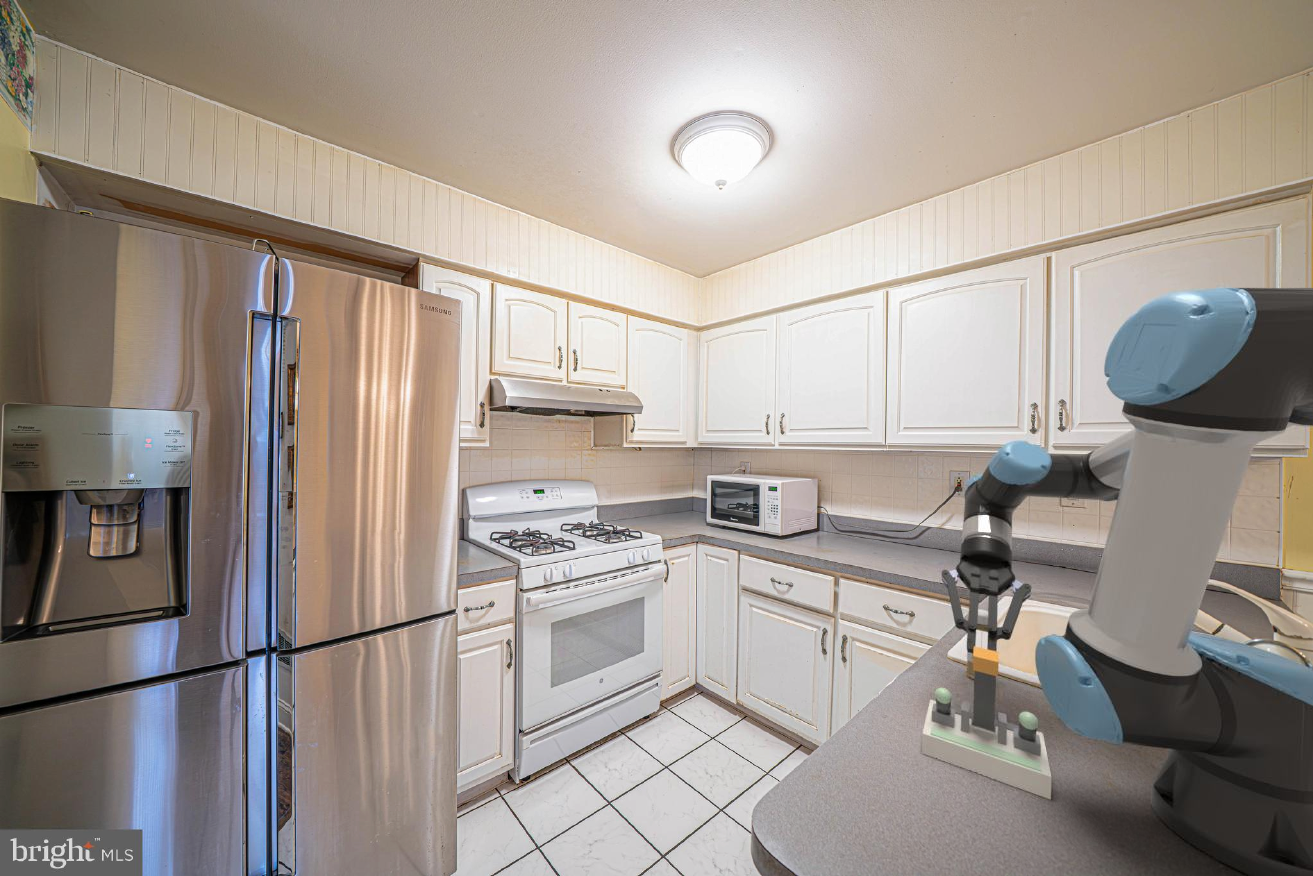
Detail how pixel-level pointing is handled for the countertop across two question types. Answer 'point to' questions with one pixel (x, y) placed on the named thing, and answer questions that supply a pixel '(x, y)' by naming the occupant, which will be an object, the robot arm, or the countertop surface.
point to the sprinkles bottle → (982, 626)
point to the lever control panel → (988, 745)
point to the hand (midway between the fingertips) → (980, 674)
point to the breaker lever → (984, 688)
